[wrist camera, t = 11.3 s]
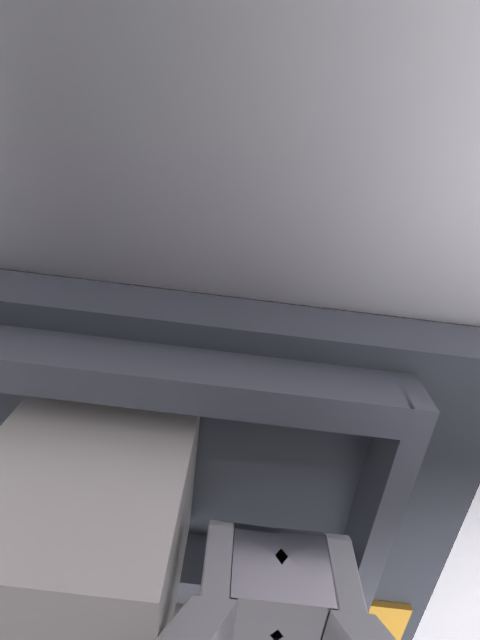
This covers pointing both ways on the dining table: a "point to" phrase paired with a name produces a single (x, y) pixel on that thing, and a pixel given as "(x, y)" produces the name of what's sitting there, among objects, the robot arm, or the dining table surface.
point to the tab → (92, 519)
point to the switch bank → (275, 414)
